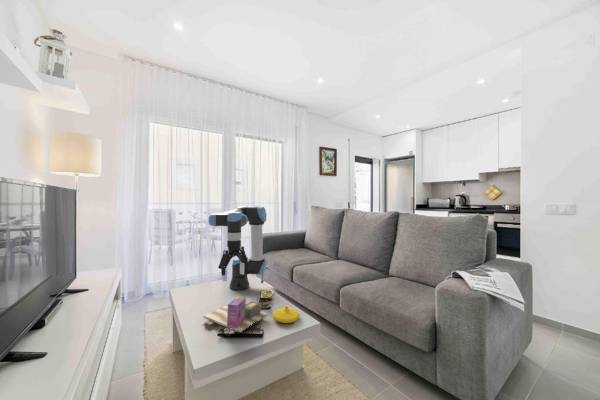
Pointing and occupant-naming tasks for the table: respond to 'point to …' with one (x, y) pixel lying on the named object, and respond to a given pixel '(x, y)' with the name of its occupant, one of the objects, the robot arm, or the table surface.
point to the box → (236, 312)
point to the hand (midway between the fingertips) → (233, 277)
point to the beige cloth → (221, 318)
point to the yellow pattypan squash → (286, 315)
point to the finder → (252, 309)
